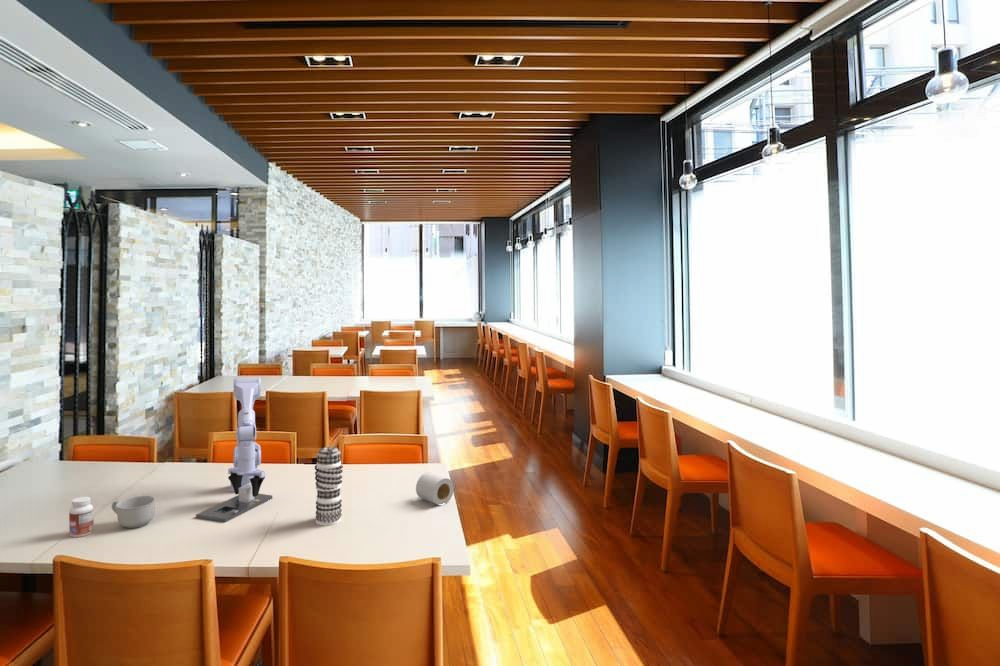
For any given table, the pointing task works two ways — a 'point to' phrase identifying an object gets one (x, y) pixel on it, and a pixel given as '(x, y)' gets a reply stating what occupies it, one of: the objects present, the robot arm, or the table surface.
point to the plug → (246, 493)
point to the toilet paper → (434, 488)
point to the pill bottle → (81, 517)
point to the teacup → (135, 510)
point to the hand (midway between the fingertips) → (246, 494)
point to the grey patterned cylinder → (328, 486)
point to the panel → (232, 508)
